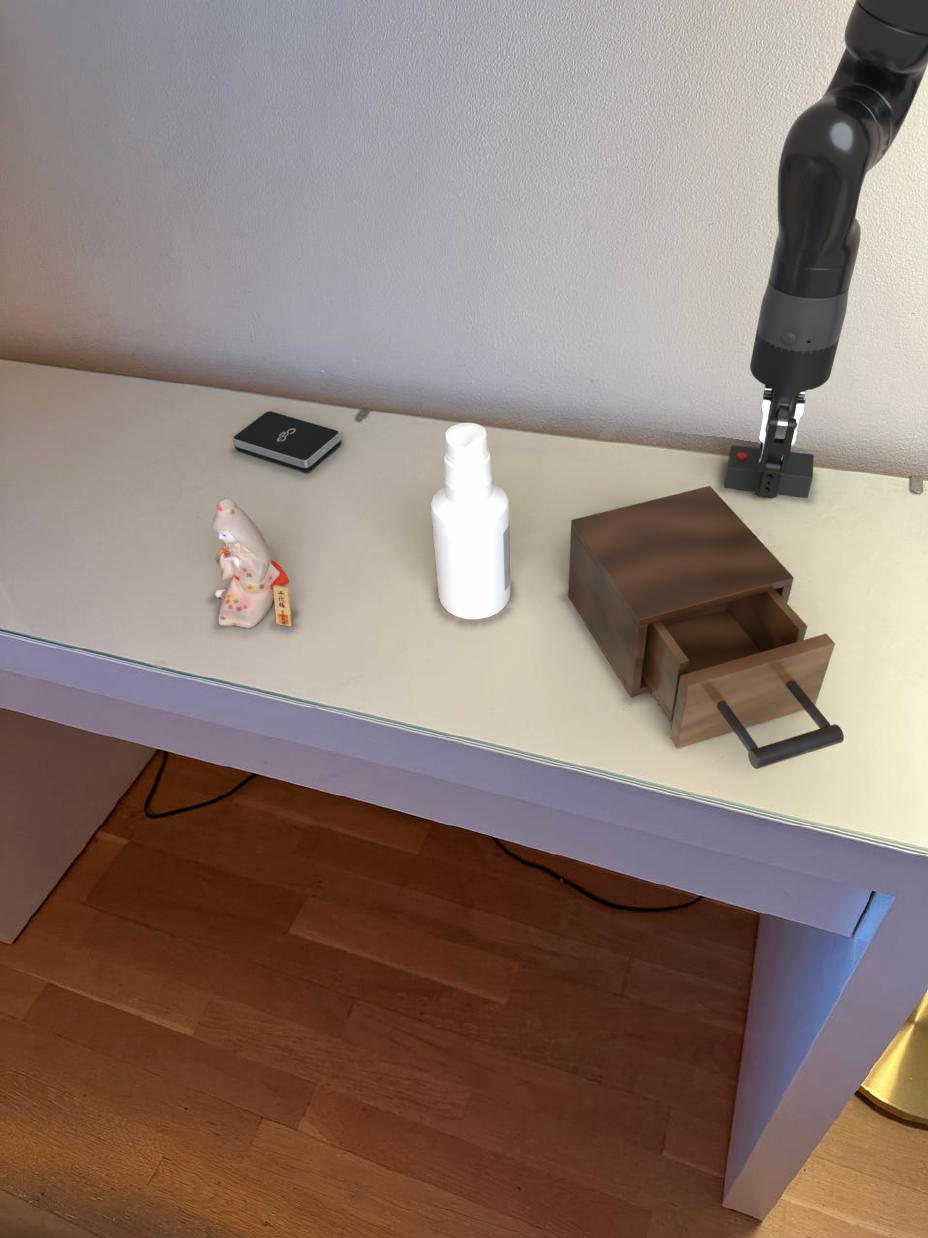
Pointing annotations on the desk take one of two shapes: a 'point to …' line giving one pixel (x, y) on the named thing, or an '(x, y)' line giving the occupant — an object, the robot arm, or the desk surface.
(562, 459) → the desk surface
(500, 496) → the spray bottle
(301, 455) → the external hard drive
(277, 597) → the figurine
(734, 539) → the cabinet
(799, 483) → the remote
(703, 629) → the drawer
